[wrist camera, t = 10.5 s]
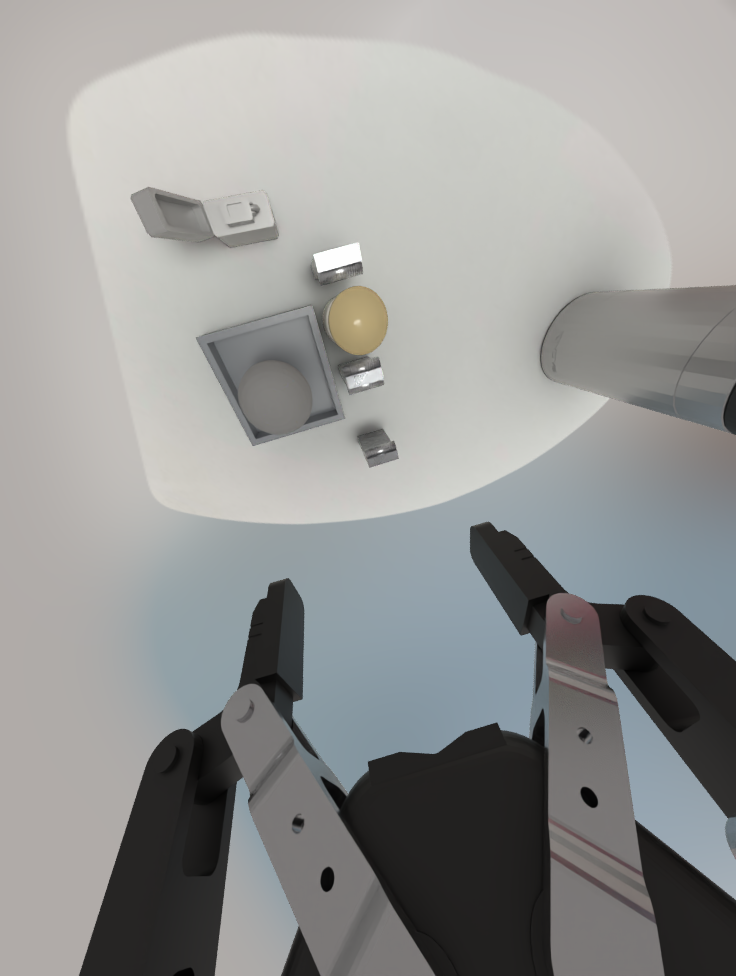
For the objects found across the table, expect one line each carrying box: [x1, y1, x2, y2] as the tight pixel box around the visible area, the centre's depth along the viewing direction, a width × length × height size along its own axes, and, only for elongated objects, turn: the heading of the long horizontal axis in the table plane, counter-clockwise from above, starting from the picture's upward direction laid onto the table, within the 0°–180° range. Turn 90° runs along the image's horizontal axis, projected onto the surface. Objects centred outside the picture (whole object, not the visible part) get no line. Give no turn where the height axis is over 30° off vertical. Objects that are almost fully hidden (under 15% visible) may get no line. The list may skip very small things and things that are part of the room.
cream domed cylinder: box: [322, 286, 388, 355], centre depth 23 cm, size 4×4×8 cm
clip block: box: [311, 242, 399, 468], centre depth 26 cm, size 3×17×6 cm, turn 13°
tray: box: [196, 305, 345, 446], centre depth 27 cm, size 10×10×2 cm
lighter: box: [131, 187, 278, 248], centre depth 18 cm, size 7×2×8 cm, turn 100°
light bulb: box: [238, 360, 312, 435], centre depth 23 cm, size 6×6×10 cm
